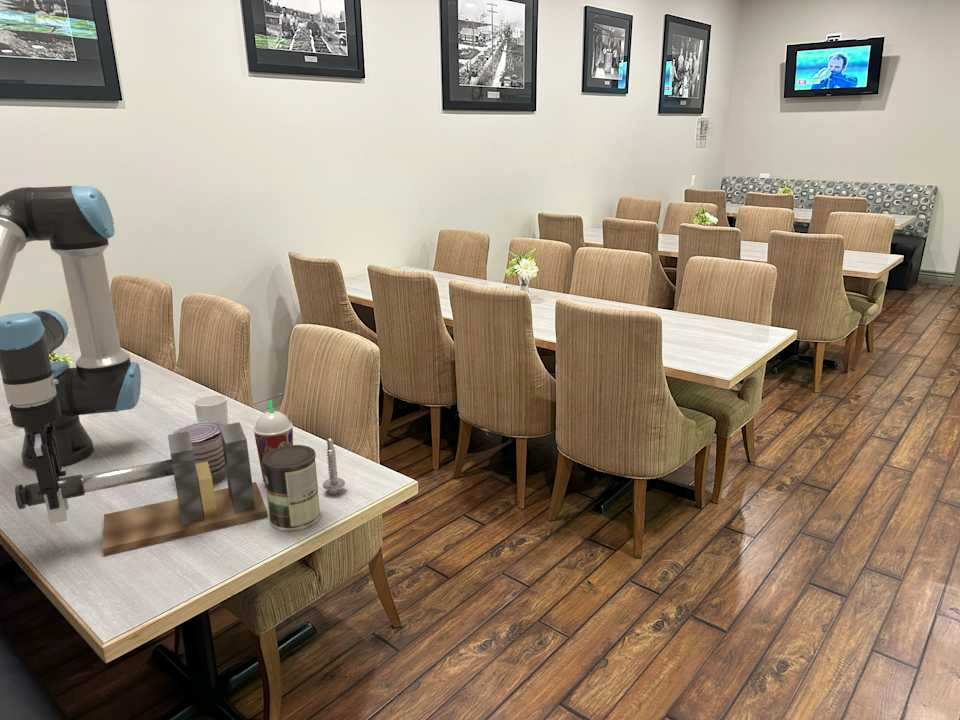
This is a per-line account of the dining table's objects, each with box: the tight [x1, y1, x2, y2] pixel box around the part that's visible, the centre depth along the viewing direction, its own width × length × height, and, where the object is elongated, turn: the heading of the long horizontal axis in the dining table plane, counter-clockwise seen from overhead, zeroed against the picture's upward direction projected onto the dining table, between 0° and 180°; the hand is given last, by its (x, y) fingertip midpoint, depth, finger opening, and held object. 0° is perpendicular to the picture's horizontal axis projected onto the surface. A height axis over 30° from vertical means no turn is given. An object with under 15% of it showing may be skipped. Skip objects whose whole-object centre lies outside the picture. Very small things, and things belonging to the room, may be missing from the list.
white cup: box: [193, 394, 229, 425], centre depth 179 cm, size 8×8×10 cm
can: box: [172, 420, 227, 486], centre depth 156 cm, size 11×11×12 cm
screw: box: [322, 437, 346, 496], centre depth 148 cm, size 13×5×5 cm
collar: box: [195, 461, 217, 518], centre depth 140 cm, size 2×8×8 cm, turn 26°
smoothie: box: [252, 399, 294, 483], centre depth 152 cm, size 8×8×20 cm
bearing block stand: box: [101, 421, 269, 557], centre depth 138 cm, size 30×14×17 cm, turn 116°
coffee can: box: [262, 444, 321, 532], centre depth 138 cm, size 10×10×14 cm
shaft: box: [14, 458, 174, 510], centre depth 131 cm, size 28×4×4 cm, turn 116°
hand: (59, 515), depth 129 cm, fingers closed on shaft, 4 cm apart
